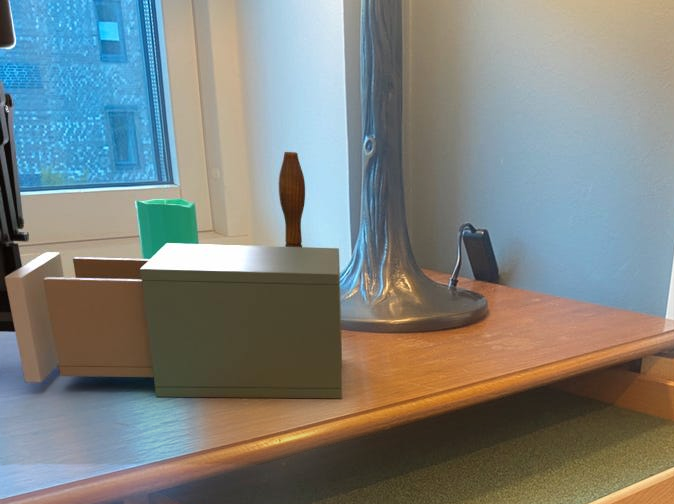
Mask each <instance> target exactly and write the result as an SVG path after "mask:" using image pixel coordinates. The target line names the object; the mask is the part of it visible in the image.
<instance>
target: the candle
mask: <svg viewBox="0 0 674 504" xmlns="http://www.w3.org/2000/svg"><path fill="white" fill-rule="evenodd" d="M162 194H163V198H153V199H148V200H139V199H138V200H135V201H134V204H135V205H134V206H135V212H136V221H137V229H138V236H139V244H140V254H141V259H151V258H152V257H153V256H154V255H155V254H156V253H157V252H158V251H159V250H160V249H161V248H162V247H164V246H165V245H166V244H167V243H171V244H200V242H199V241H200V240H199V232H198V222H197V221H198V220H197V212H196V211H197V210H196V202H190V201H188V200H187V199H184V198H166V191H165V185H164V184H162Z"/></svg>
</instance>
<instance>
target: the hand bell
mask: <svg viewBox="0 0 674 504" xmlns="http://www.w3.org/2000/svg"><path fill="white" fill-rule="evenodd" d="M282 158H283V159H282V163H281V165H280V166H281V167H280V169H279V174H278V175H279V176H278V195H279V203H280V207H281V211H282V214H283V218H284V225H285V228H284V229H285V231H284V232H285V237H284V238H285V239H284V240H285V241H284V242H285V244H284V247H303V244H302V242H303V240H302V239H303V238H302V217H303V213H304V208H305V204H306V181H305V177H304V173H303V170H302V165H301V163H300V159H299V154H298V152H296V151H294V152H293V151H285V152H283V157H282Z"/></svg>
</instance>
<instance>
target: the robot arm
mask: <svg viewBox="0 0 674 504" xmlns="http://www.w3.org/2000/svg"><path fill="white" fill-rule="evenodd" d="M15 31H16V30H15V25H14V20H13V14H12V8H11V1H10V0H0V49H2V50H3V49H4V50H11V49H13V48H14V47H15V46H16V45H17V44H16V43H17V39H16V32H15ZM14 105H15V102H14V98H13V96H12V94H10V93H5V88H4V83H3V81H2V79H1V78H0V312H11V307H10V302H9V297H8V291H7V286H6V281H5V277H6V276H7V275H9V274H11V273H12V272H14V271H16V270H17V269H19V268H21V267H22V266H23V262H22V258H21V252H20V247H19V243H15V242H27V243H28V242H29V240H30V233H29V232H28V231H27V232H26V231H20V230H23V229H24V227H25V226H24V225H25V220H24V213H23V205H22V195H21V186H20V177H19V165H18V157H17V149H16V148H17V147H16V139H15V131H14ZM0 332H4V333H5V332H6V333H7V332H8V333H16V332H15V327H14V322H13V321H0Z"/></svg>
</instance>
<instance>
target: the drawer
mask: <svg viewBox="0 0 674 504" xmlns="http://www.w3.org/2000/svg"><path fill="white" fill-rule="evenodd" d="M149 260H150V259H142V258H125V257H124V258H121V257H87V256H85V257H84V256H83V257H82V256H75V257H73V258H72V263H73V269H74V275H75V277H65V274H64V269H63V268H64V267H63V263H62V256H61V253H60V252H49V251H48V252H44V253H42V254H41V255H39V256H37V257H36V258H34V259H32V260H31V261H29V262H27V263H26V264H24V265H22V267H21V268H19V269H17V270H16V271H14V272H12V273H11V274H9V275H7V276H6V277H5V281H6V286H7V291H8V297H9V302H10V307H11V312H0V321H13V322H14V327H15V332H14V333H15V335H16V336H15V337H16V343H17V348H18V352H19V357H20V363H21V368H22V374H23V377H24V381H25V383H42V382H44V380H45V379H46V378H47V377H48V376H49V375H50V374H51V372H53V371H54V370H55V369H56V368H57V366H58V370H59V376H61V377H100V378H103V377H104V378H105V377H106V378H107V377H109V378H121V377H122V378H154V376H153V368H152V360H151V352H150V344H149V336H148V328H147V321H146V313H145V305H144V297H143V289H142V280H141V274H140V269H141V268H142V267H143V266H144V265H145V264H146V263H147V262H148V261H149Z"/></svg>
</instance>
